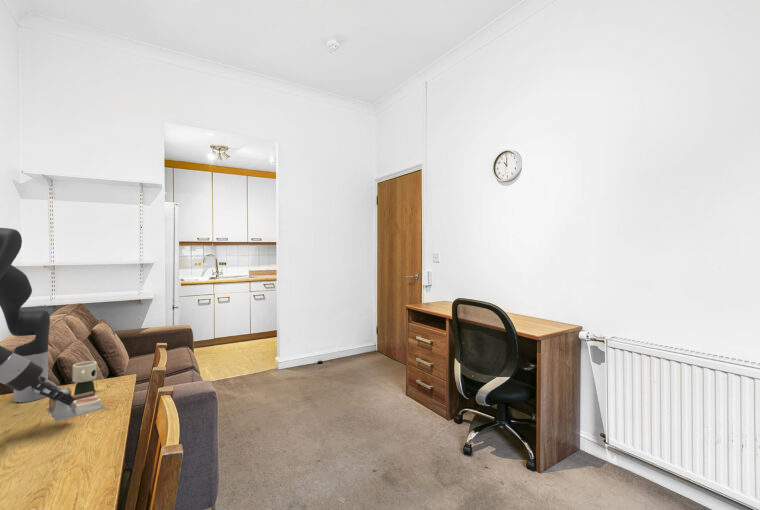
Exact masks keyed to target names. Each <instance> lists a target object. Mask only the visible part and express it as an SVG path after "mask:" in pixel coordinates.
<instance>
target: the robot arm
mask: <svg viewBox="0 0 760 510" xmlns="http://www.w3.org/2000/svg"><path fill="white" fill-rule="evenodd" d="M22 244H23V239H22V234H21V232H19V230H17V229H14V228H9V227H7V228H6V227H0V309H1V311H2V314H3V316H4V319H5V320H4V321H5V323H6V326H7V329H8V330H9V331H8V332H9V334H11V335H12V336H15V337H28V336H35V337H34V339H32V340H31V341H29V342H26V343H24V344H21V345H18V346H16V347H15V348H14V350H13V352H12V351H11V350H10V349H7V348H6V347H5V346H1V345H0V383H1V384H2V385H4V386H7V387H8V388H11V389H12V390H13V403H16V402H19V403H18V404H20V403H21V402H22V403H29V402H33V401H38V400H41V399H43V398H51V399H53V400H54V401H57V400H58V401H60V402H62V403H64V404H66V405H70V404H71V403H72V402H73V401H74V400H75V399H74V398H73V397H72V396H73V395H72V394H71V395H70V394H65V393H64V392H63V391H60V390H61V389H62V388H61V387H60V386H58V385H57V384H56V383H55V382H53V381H51V380H50V379H49V377H48V376H49V375H48V374H49V341H50V339H49V337H50V327H51V326H50V323H51V317H50V312H49V311H48V310H30V311H29V310H28V311H23V310H21V307H23V305H24V304H25V303H26V302H27V301H28V300H29V298H30V297H31V296H32V292H33V288H32V285H31V282H30V280H29V277H28V276H27V275H26V274H25V273H24V272H23V271H22V270H20V268H17V267H15V266H14V265H12V264H13V263H14V261H15V260H16V258H17V257H18V254H19V253H20V251H21V248H22ZM55 393H58V394H57V395H55Z"/></svg>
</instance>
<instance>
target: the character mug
mask: <svg viewBox="0 0 760 510" xmlns="http://www.w3.org/2000/svg"><path fill="white" fill-rule="evenodd" d="M97 364H98V362H97V361H96V360H95V361H94V360H93V361H92V360H89V361H81V362H78V363H74V364H72V383H76V384H75V388H74V392H73V396H74V395H79V394H83V393H87V392H92V391H93V392H94V393H96V391H95V389H96V388H95V383H94V381H93V380H95V379H97V375H98V373H97V371H98V370H97V368H98V367H97V366H98V365H97Z"/></svg>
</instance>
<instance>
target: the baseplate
mask: <svg viewBox="0 0 760 510" xmlns="http://www.w3.org/2000/svg"><path fill="white" fill-rule="evenodd" d="M70 409H71V410H70V411H71V413H70V414H69V415H68V416H66V417H62V418H53V420H54V421H55V422H60V421H63V420H66V419H71V418H75V417H77V416H82V415H86V414H89V413H90V414H91V413H93V412H98V411H100V410H104V409H107V407H106V406H105V405H103V404H102V403H101V409H98V410H94V411H90V412H86V413H83V414H79V415H76V413H75V412H74V411H73V410H72V403H71V408H70ZM46 410H47V412H48V413H49V414H50V415H51V416H52V415H53V414H52V412H51V410H50V409H49V407H47V408H46Z"/></svg>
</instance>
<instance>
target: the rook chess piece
mask: <svg viewBox="0 0 760 510" xmlns="http://www.w3.org/2000/svg"><path fill="white" fill-rule="evenodd" d="M63 388H64V390H63V389H62V388H60V389H61V390H60V391H63V392H64V393H65V394H68V392H69V391H68V390H67V389H66V388H67V387H63ZM57 394H58V393H55V395H57ZM70 410H71V409H70V407H69V406H68V405H66V404H64V403H62V402H60V401H58V400H57V402H56V407H55V409H54V411H53V412H52V414H53V415H51V417H52V418H53V419H54V418H62V417H66V416H68V415H69V414H70V413H71V411H70Z"/></svg>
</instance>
